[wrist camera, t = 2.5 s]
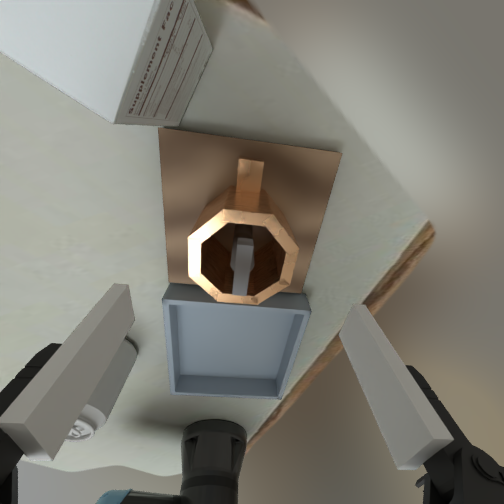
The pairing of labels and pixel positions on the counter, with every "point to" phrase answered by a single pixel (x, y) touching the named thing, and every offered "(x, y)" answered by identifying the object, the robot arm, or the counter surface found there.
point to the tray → (231, 343)
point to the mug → (219, 258)
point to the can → (104, 394)
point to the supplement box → (111, 53)
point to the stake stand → (225, 174)
